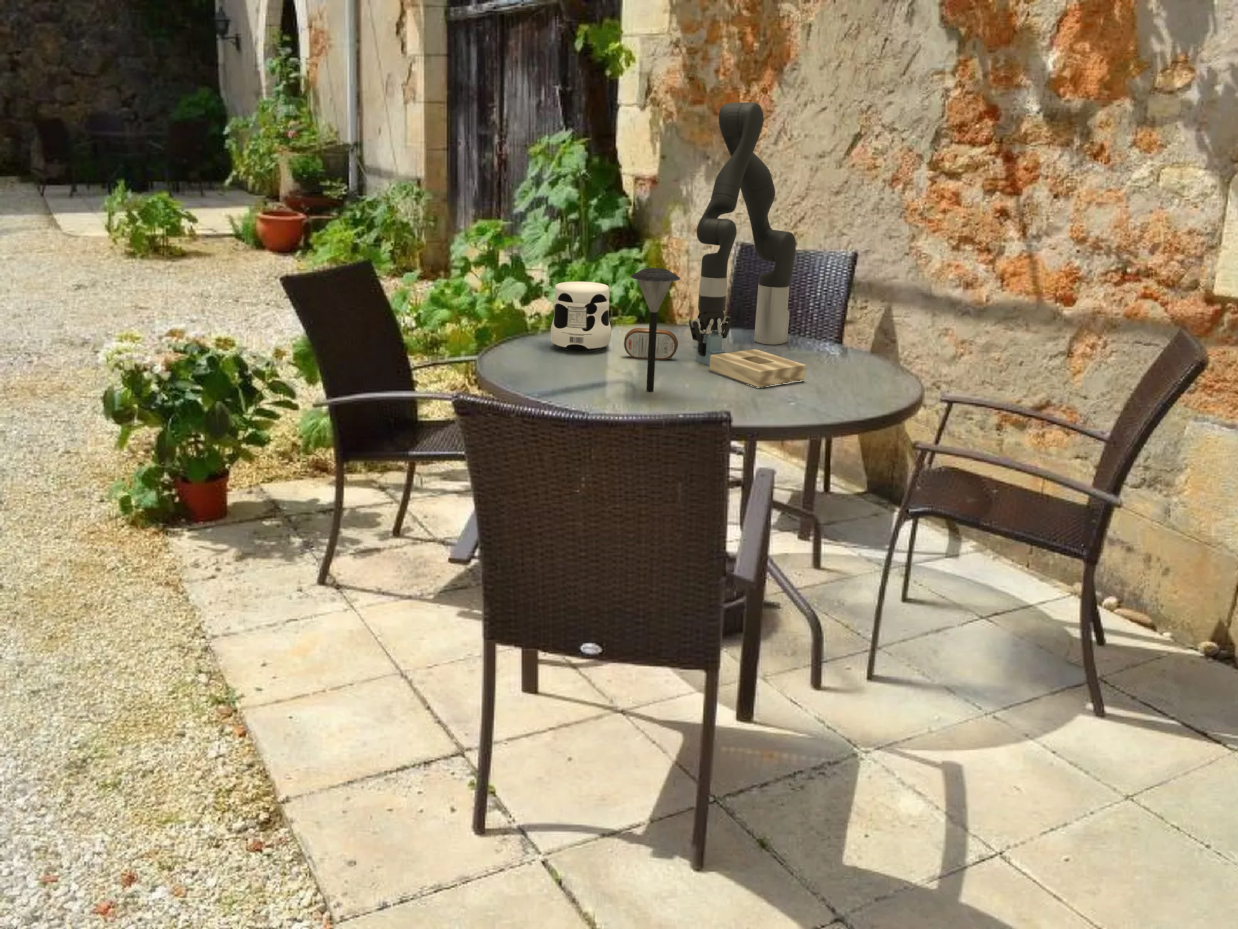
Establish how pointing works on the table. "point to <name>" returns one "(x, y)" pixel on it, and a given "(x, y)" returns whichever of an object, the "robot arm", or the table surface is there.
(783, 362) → the block
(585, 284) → the milk container
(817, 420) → the table surface
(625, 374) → the table surface
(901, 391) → the table surface
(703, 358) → the grey-blue stepped block
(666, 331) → the tin
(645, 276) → the solar garden light
